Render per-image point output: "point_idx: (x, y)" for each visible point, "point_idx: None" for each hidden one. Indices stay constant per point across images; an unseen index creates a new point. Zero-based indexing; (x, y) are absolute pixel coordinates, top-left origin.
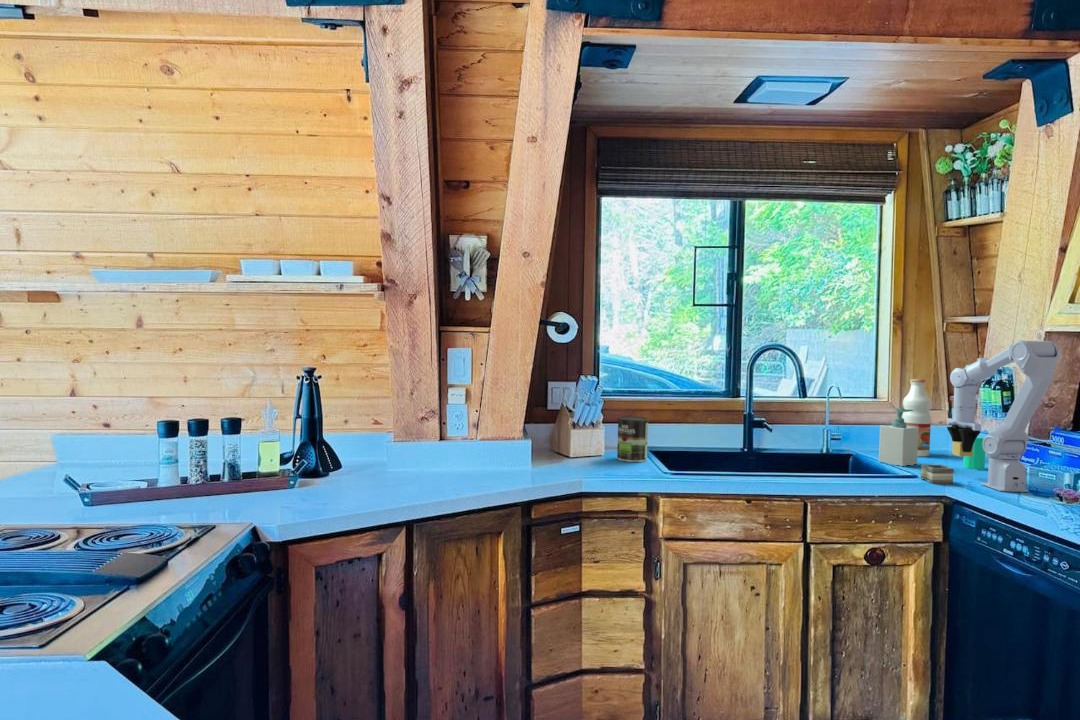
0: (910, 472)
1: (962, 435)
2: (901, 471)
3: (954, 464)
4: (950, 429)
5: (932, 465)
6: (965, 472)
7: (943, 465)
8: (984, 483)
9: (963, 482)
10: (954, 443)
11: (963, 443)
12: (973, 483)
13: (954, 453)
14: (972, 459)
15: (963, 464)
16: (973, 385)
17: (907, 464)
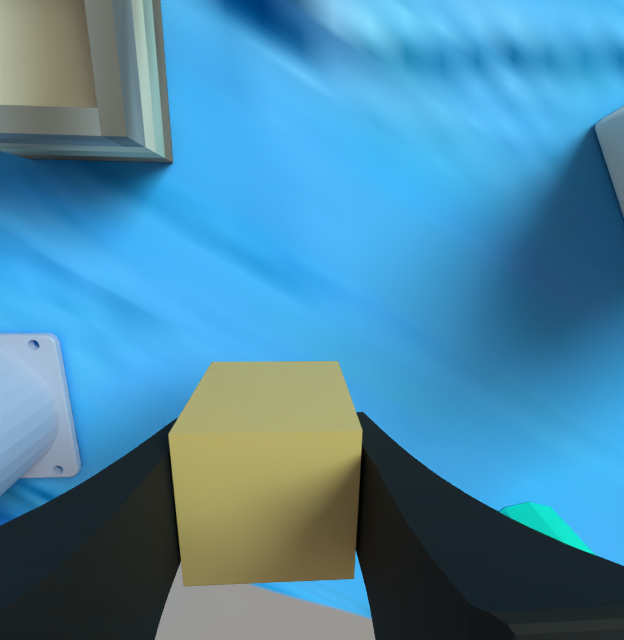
0: (401, 67)
1: (3, 547)
2: (436, 9)
3: (621, 501)
4: (479, 581)
5: (89, 18)
6: (411, 442)
7: (90, 130)
8: (26, 345)
9: (106, 265)
10: (310, 418)
11: (119, 459)
12: (89, 312)
13: (297, 365)
14: None
15: (558, 517)
16: None
17: (619, 179)
